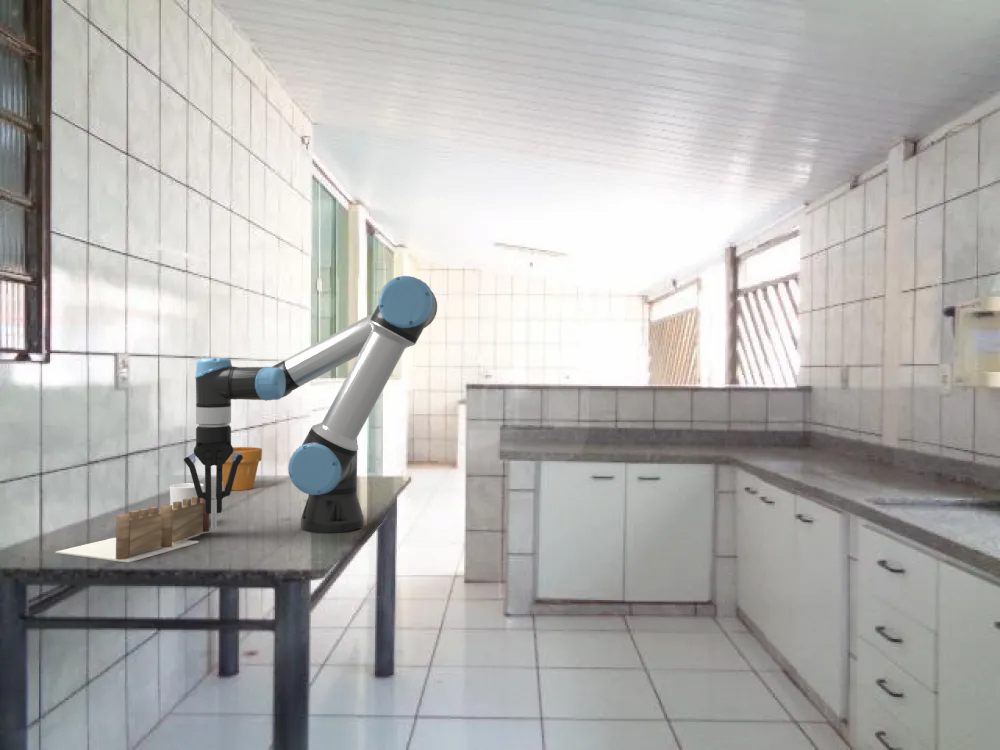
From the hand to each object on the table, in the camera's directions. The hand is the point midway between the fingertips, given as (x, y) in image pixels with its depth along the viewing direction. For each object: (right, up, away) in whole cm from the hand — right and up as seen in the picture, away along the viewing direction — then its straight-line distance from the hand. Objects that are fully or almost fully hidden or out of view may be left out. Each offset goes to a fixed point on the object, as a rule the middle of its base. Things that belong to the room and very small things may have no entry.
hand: (213, 527), depth 171 cm
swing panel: (-4, -1, -3) cm, 5 cm away
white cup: (-11, -2, +12) cm, 16 cm away
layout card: (-13, -2, -12) cm, 18 cm away
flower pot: (-20, -2, +72) cm, 75 cm away
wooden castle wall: (-8, -2, -17) cm, 19 cm away
